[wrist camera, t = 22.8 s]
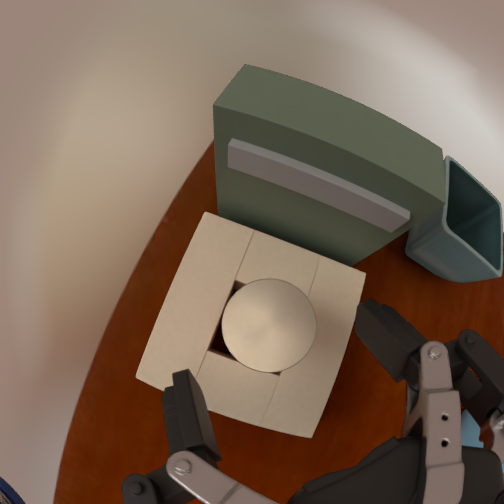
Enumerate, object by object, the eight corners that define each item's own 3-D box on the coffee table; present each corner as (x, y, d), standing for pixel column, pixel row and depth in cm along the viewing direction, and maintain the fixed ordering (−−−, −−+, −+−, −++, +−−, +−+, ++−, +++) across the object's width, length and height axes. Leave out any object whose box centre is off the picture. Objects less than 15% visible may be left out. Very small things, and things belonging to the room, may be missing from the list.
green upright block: (216, 229, 24) (207, 110, 11) (235, 188, 25) (244, 63, 12) (341, 276, 24) (446, 212, 10) (352, 233, 25) (442, 148, 12)
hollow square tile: (150, 370, 20) (134, 377, 16) (208, 230, 24) (204, 210, 20) (298, 423, 19) (311, 438, 16) (346, 283, 24) (366, 273, 20)
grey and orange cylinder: (229, 362, 21) (230, 380, 12) (219, 305, 22) (214, 285, 13) (287, 351, 21) (324, 361, 13) (277, 296, 23) (306, 271, 14)
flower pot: (401, 195, 27) (447, 151, 19) (453, 233, 27) (502, 202, 18) (384, 260, 25) (442, 226, 16) (442, 297, 24) (502, 278, 15)
